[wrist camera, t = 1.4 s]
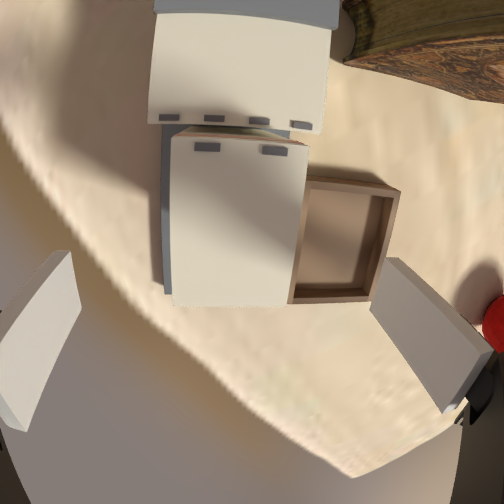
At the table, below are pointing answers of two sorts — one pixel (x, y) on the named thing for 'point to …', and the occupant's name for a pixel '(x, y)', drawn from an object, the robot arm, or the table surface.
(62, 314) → the robot arm
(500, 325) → the apple
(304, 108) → the pad
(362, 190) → the tray
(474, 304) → the table surface
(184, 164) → the stub
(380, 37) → the book
